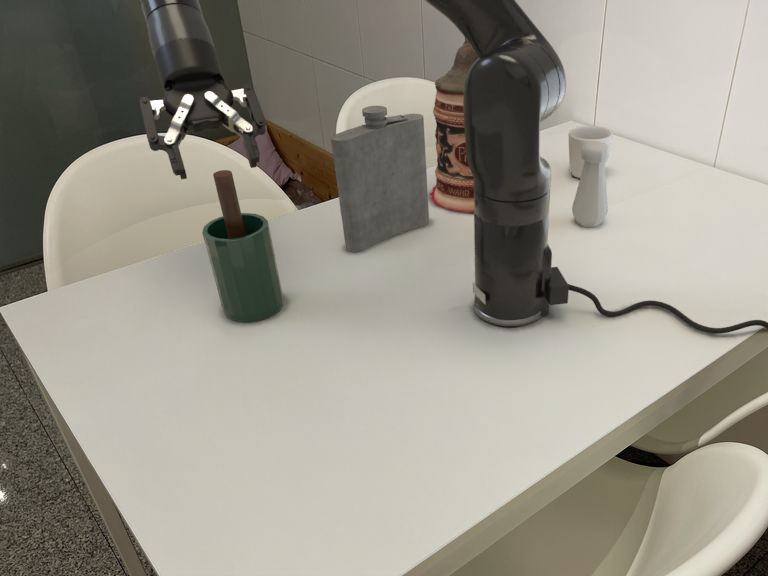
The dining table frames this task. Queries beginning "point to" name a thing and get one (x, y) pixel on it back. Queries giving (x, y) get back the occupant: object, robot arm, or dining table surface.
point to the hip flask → (381, 177)
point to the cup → (579, 139)
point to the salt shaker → (592, 186)
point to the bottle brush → (229, 204)
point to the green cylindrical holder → (244, 269)
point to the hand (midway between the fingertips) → (219, 170)
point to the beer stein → (453, 137)
